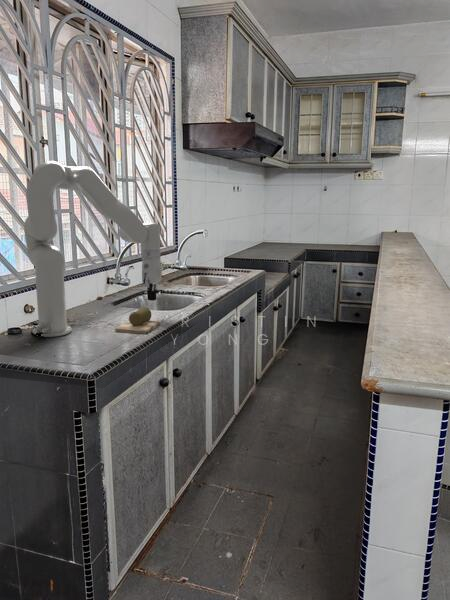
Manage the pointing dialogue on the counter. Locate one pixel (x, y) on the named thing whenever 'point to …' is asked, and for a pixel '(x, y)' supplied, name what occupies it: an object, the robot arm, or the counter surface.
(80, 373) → the counter surface
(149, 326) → the cutting board
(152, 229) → the robot arm
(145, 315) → the olive pepper shaker
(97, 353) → the counter surface
